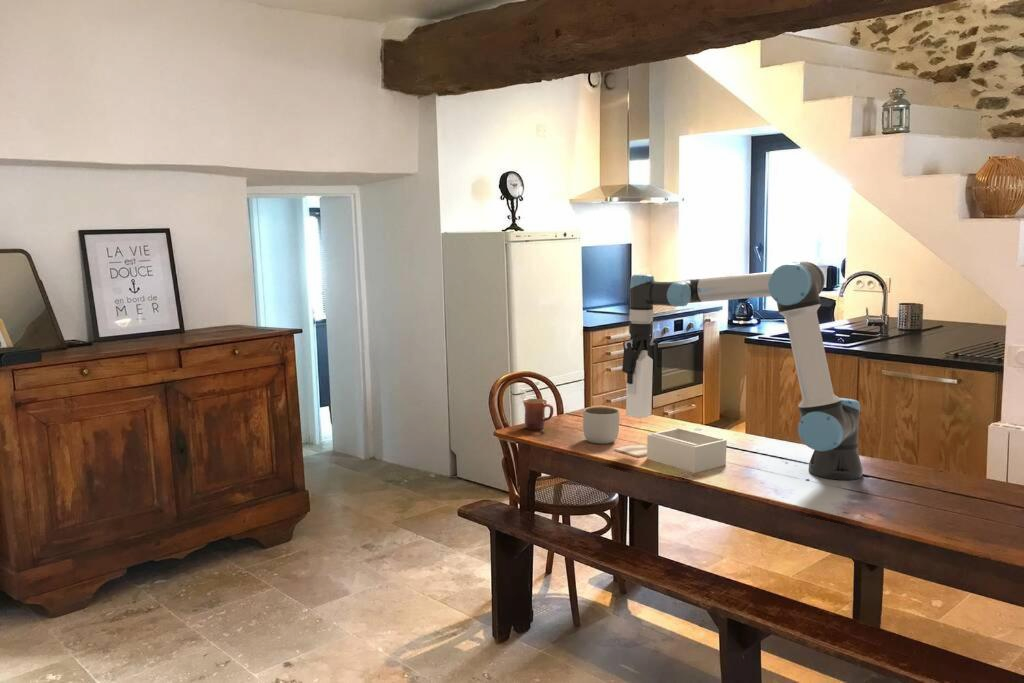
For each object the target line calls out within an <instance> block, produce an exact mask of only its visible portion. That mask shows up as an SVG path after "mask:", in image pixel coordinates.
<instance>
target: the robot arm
mask: <svg viewBox="0 0 1024 683" xmlns="http://www.w3.org/2000/svg"><path fill="white" fill-rule="evenodd" d="M825 282H826V280H825V274H824V273H823V271H822V269H821V268H820V267H819V266H818V265H816V263H813V262H809V261H791V262H787V263H784V264H781V265H779V266H778V267H777V268H775V269H774V271H766V272H765V271H764V272H755V273H744V274H736V275H725V276H724V275H723V276H717V277H705V278H696V279H695V278H694V279H693V278H692V279H686V280H677V281H656V280H655V276H654V275H653V274H641V273H640V274H633V275H632V276H631V277H630V282H629V284H630V285H629V291H630V292H629V321H630V322H629V324H628V325H629V326H628V333H629V334H630V338H629V340H628V341H623V342H622V347H623V357H622V367H621V368H622V370H621V372H623V373H625V374H626V384H627V383H628V393H630V394H635V388H636V374H634V371H635V367H636V361H637V359H638V355H639V354H640V352H641V351H642V350H646V351H647V352H648V356H649V357H650V358H652V359H653V371H652V373H654V372H655V371H656V370H657V368H658V361H657V360H658V357H657V354H658V353H657V352H658V350H657V346H658V340H657V339H654V338H652V335H653V328H654V327H653V321H654V306H665V307H666V306H669V307H675V308H677V307H687V305H688V304H693V303H694V304H695V303H704V302H714V301H715V302H716V301H718V302H719V301H727V300H742V299H753V298H755V299H756V298H767V297H771V298H772V299H773V300H774V301H775V302H776V305H777V311H778V314H779V315H781V316H782V317H784V318H785V322H786V327H787V331H788V335H789V336H788V337H789V341H790V346H791V352H792V355H793V360H794V365H795V369H796V374H797V380H798V384H799V389H800V393H801V398H802V399H801V400H800V402H799V404H798V405H797V406H798V410H799V416H800V420H799V422H798V427H797V432H798V436H799V438H800V440H801V441H802V443H803V444H804V445H805V446H807V447H808V448H810V449H811V450H813V452H812V455H811V457H810V460H809V462H808V472H809V473H810V474H812V475H814V476H817V477H819V478H821V477H822V478H824V479H831V480H840V481H849V480H857V479H860V478H862V477H863V472H864V471H863V469H864V468H863V466H862V462H861V458H860V453H859V450H858V444H859V431H860V415H861V414H860V413H861V407H860V406H861V405H860V404H861V403H860V402H859V401H858V400H856V399H853V398H845V397H839V396H837V395H836V394H835V393H834V388H833V384H832V380H831V374H830V370H829V364H828V361H827V355H826V350H825V346H824V341H823V336H822V332H821V327H820V322H819V321H820V320H819V318H818V317H819V316H818V310H819V308H820V307H821V305H822V304H821V298H820V294H821V293H822V291H823V290H824V287H825ZM634 350H635V351H634ZM630 369H631V370H630Z"/></svg>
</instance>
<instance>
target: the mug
mask: <svg viewBox="0 0 1024 683" xmlns="http://www.w3.org/2000/svg"><path fill="white" fill-rule="evenodd" d="M522 402H523V406H524V426H525V428H526V429H528V430H531V431H538V430H539V431H540V430H542V429H544V427H545V423H546V422H547V421H549V420H551V419H552V417H553V415H554V406H553V405H552V404H549V403H548V401H547V400H545V399H543V398H525V399H523V400H522ZM546 407H547V408H549V414H548V415H549V416H548V417H546V416H545V415H546V413H545V412H546V410H545V409H546Z"/></svg>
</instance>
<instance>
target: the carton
mask: <svg viewBox="0 0 1024 683" xmlns="http://www.w3.org/2000/svg"><path fill="white" fill-rule="evenodd" d="M727 440H728V439H724V438H722V437H719V436H715V435H709V434H707V433H702V432H698V431H694V430H690V429H686V428H683V427H676V428H672V429H667V430H663V431H657V432H651V433H648V434H647V440H646V442H647V444H646V446H647V456H646V459H647V460H650V461H653V462H657V463H660V464H663V465H665V466H666V465H667V466H669V467H673V468H676V469H680V470H683V471H686V472H689V473H693V474H695V473H700V472H704V471H708V470H711V469H715V468H719V467H723V466H724V467H725V466H726V465H727V442H728V441H727Z"/></svg>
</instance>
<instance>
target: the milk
mask: <svg viewBox="0 0 1024 683" xmlns="http://www.w3.org/2000/svg"><path fill="white" fill-rule="evenodd" d="M634 351H635V350H634ZM630 370H631V369H630ZM652 371H653V359H652V358H650V357H649V356H648V352H647V351H646V350H642V351H641V352H640V354H639V355H638V359H637V361H636V367H635V371H634V374H636V388H635V394H630V393H628V383H627V382H626V399H625V402H626V404H625V405H626V406H625V416H627V417H630V418H637V419H646V418H648V417H652V406H653V403H652V402H653V401H652V400H653V398H652V397H653V372H652Z"/></svg>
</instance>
